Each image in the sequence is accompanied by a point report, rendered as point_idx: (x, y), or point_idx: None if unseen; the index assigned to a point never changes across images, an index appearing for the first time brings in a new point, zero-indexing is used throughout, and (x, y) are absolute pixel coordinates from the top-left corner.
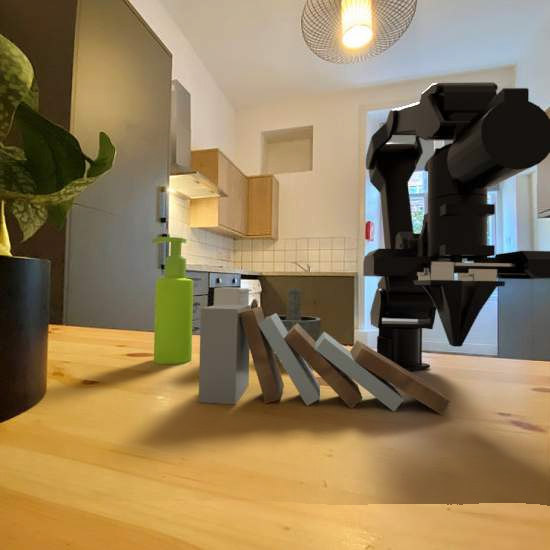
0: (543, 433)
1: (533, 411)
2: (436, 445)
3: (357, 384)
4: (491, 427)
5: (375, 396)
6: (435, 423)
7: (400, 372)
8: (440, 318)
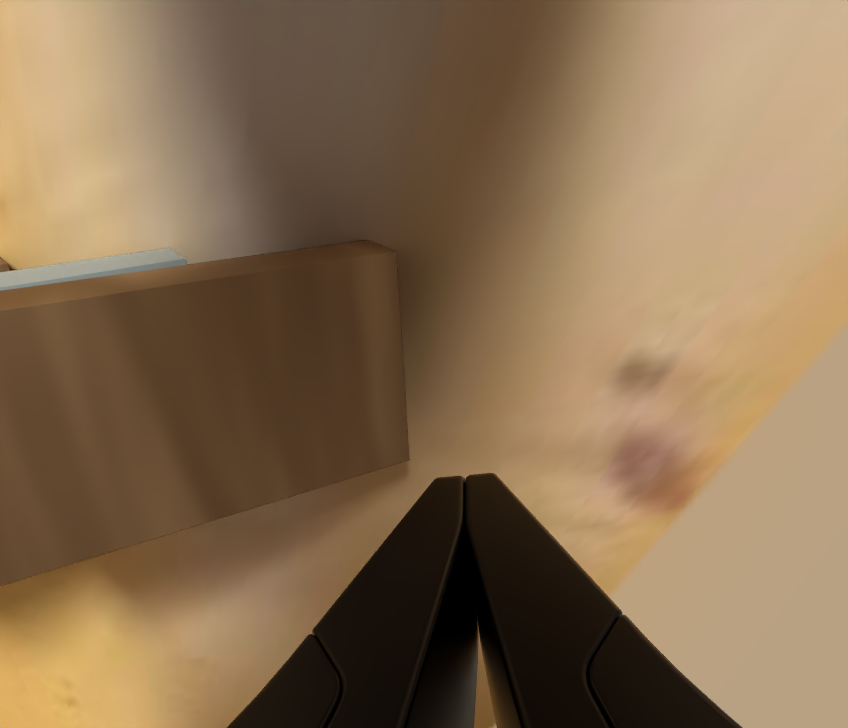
0: (667, 522)
1: (802, 316)
2: None
3: (8, 268)
4: None
5: None
6: (340, 506)
7: (163, 533)
8: (338, 606)
